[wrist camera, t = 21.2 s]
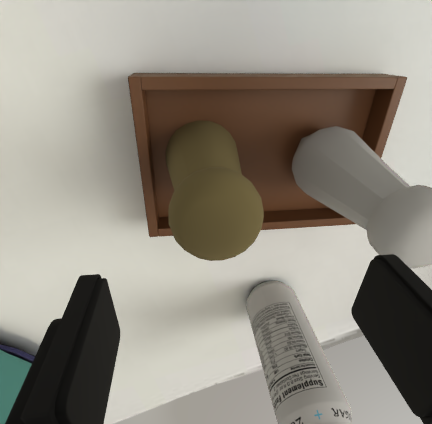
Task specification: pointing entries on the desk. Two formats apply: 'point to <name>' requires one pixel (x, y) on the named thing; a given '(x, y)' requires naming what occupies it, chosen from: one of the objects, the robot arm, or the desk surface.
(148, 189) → the tray
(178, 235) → the pepper shaker
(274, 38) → the desk surface
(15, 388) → the cutlery set
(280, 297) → the energy drink can
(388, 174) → the salt shaker
